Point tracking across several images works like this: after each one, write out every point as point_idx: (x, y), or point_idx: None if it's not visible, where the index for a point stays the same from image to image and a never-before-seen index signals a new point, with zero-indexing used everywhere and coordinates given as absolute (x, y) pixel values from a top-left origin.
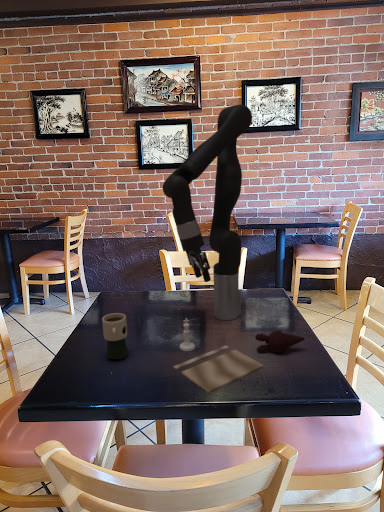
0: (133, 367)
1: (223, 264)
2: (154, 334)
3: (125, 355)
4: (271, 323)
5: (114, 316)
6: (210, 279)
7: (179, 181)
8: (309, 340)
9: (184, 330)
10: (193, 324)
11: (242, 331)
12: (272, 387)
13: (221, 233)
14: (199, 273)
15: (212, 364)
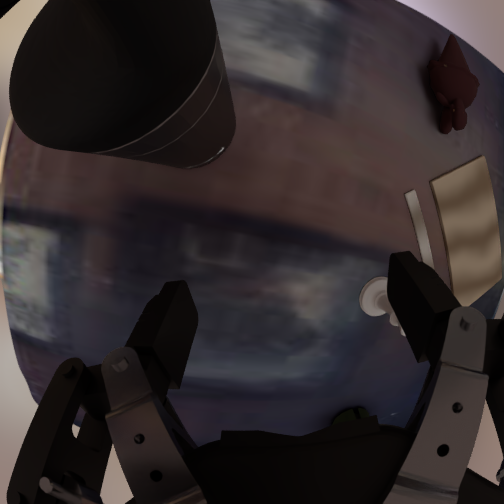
0: (397, 390)
1: (201, 21)
2: (276, 367)
3: (365, 410)
4: (292, 19)
5: None
6: (408, 254)
7: None
8: (399, 8)
9: (396, 323)
10: (236, 255)
11: (331, 111)
12: None
13: None
14: (181, 310)
15: (462, 254)
